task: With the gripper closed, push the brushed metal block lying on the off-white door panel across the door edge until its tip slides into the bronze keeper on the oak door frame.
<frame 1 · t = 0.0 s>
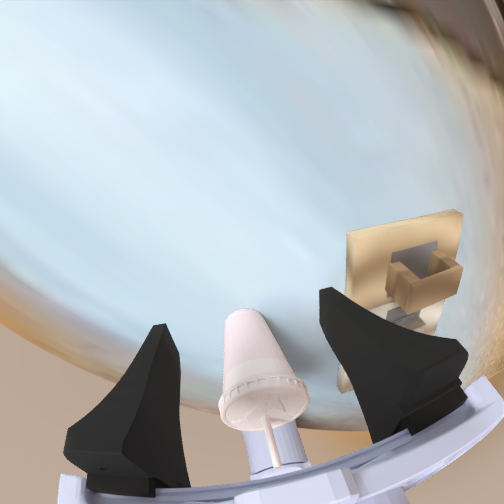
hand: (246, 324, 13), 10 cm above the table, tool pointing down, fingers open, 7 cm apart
smoothie: (244, 323, 26), on the table
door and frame: (396, 310, 29), on the table
brushed metal block: (402, 350, 28), point 3 cm above the table, slide at 0.0 cm
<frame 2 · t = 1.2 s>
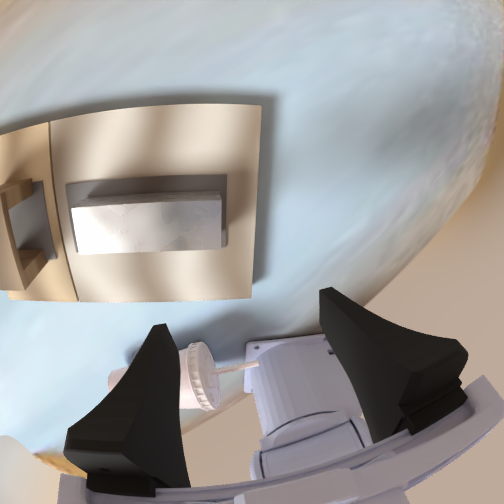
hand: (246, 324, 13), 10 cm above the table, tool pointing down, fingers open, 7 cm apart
smoothie: (116, 388, 23), point 3 cm above the table, touching arm
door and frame: (102, 210, 18), on the table
brushed metal block: (146, 221, 16), point 3 cm above the table, slide at 0.0 cm
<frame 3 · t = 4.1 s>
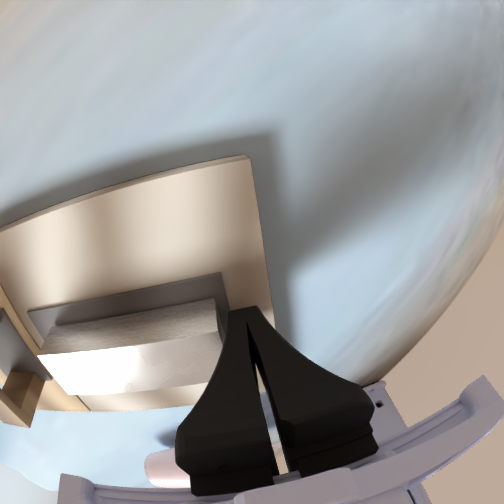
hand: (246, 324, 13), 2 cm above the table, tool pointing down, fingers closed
smoothie: (155, 470, 19), point 3 cm above the table, touching arm
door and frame: (81, 324, 14), on the table
brushed metal block: (130, 354, 12), point 3 cm above the table, slide at 0.1 cm, touching gripper
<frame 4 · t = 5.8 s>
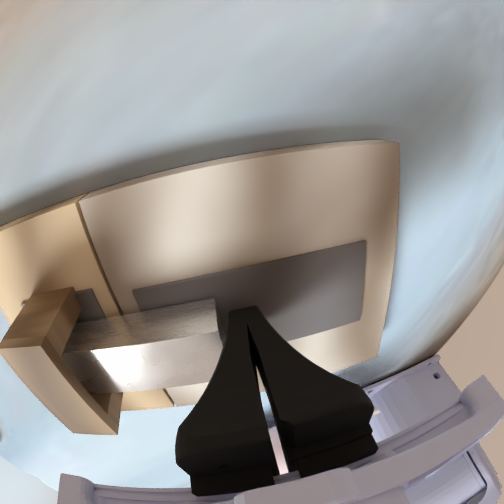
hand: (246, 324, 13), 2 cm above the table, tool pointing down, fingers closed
smoothie: (225, 464, 20), point 3 cm above the table, touching arm
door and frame: (189, 305, 15), on the table
brushed metal block: (130, 353, 12), point 3 cm above the table, slide at 6.9 cm, touching gripper
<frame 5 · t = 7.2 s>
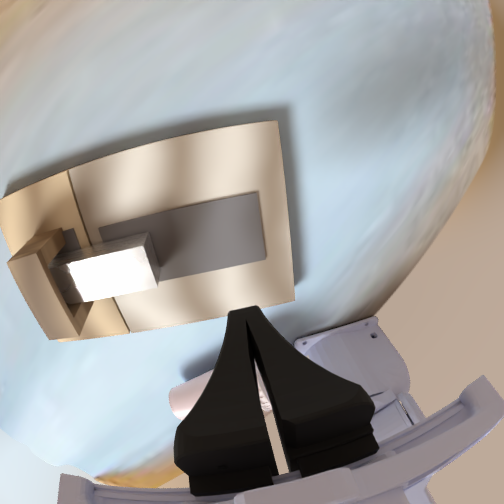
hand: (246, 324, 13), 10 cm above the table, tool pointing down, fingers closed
smoothie: (177, 404, 25), point 3 cm above the table, touching arm
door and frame: (138, 244, 20), on the table
brushed metal block: (93, 272, 17), point 3 cm above the table, slide at 6.9 cm
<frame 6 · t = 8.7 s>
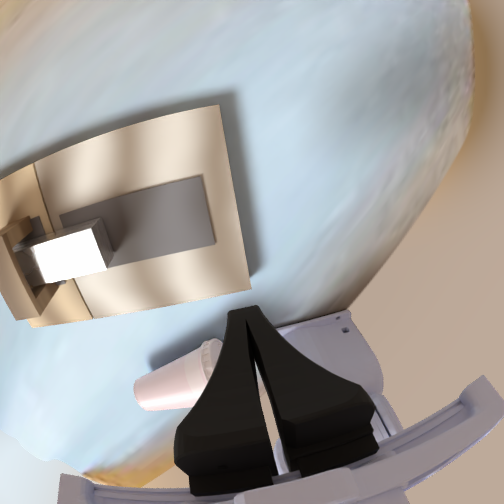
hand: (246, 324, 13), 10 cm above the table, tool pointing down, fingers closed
smoothie: (143, 394, 25), point 3 cm above the table, touching arm
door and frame: (97, 231, 20), on the table
brushed metal block: (54, 256, 17), point 3 cm above the table, slide at 6.9 cm
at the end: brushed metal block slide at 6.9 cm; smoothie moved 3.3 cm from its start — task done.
